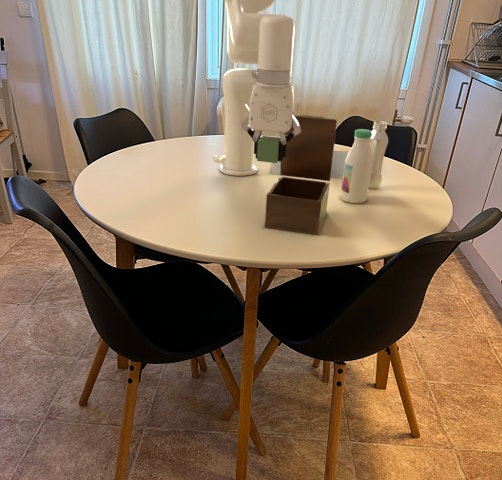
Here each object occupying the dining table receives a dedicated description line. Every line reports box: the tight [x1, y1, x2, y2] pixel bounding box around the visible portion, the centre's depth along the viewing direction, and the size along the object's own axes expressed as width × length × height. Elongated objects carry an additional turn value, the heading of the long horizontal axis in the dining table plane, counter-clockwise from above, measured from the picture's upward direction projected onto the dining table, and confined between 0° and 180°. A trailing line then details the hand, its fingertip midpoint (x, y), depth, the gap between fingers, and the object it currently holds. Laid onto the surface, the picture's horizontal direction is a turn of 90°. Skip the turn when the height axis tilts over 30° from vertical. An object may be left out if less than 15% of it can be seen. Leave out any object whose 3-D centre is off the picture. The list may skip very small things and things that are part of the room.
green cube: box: [256, 135, 281, 164], centre depth 116 cm, size 5×5×5 cm
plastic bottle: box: [369, 120, 389, 189], centre depth 148 cm, size 6×7×20 cm
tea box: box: [264, 175, 331, 236], centre depth 125 cm, size 16×14×9 cm
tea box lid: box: [279, 114, 338, 182], centre depth 125 cm, size 16×14×6 cm
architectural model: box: [270, 150, 349, 179], centre depth 172 cm, size 35×28×14 cm
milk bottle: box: [340, 128, 373, 204], centre depth 137 cm, size 8×8×20 cm
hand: (269, 157), depth 117 cm, fingers closed on green cube, 5 cm apart
